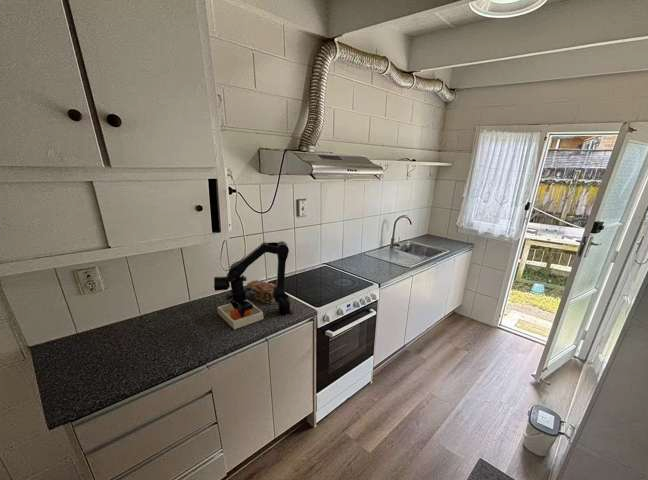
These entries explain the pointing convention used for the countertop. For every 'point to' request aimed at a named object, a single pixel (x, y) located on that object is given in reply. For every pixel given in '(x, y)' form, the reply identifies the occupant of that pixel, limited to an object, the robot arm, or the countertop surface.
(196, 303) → the countertop surface
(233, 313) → the snack bar
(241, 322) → the cream rectangular tray
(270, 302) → the bread
